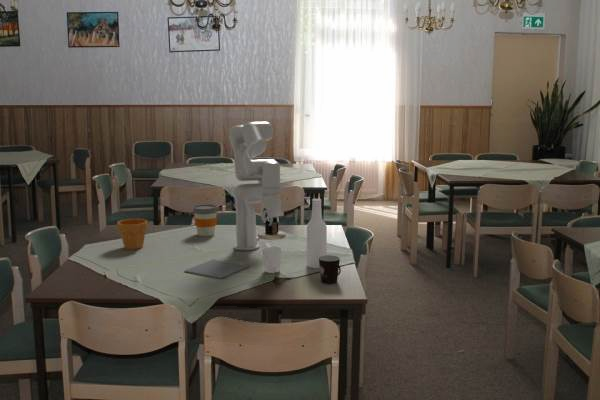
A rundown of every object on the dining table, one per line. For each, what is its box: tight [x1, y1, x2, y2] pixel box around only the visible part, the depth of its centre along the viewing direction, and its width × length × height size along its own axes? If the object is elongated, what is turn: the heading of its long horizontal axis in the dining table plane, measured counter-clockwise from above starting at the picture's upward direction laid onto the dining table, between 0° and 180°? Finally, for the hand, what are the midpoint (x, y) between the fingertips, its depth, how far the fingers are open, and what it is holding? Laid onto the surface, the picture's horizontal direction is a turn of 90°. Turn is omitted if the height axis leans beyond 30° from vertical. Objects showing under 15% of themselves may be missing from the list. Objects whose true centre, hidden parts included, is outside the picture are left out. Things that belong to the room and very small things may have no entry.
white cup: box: [262, 245, 282, 274], centre depth 267 cm, size 8×8×10 cm
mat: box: [183, 259, 250, 280], centre depth 271 cm, size 20×20×1 cm
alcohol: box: [306, 198, 328, 270], centre depth 272 cm, size 9×9×30 cm
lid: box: [257, 222, 287, 241], centre depth 265 cm, size 12×12×6 cm
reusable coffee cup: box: [192, 204, 218, 237], centre depth 332 cm, size 13×13×15 cm
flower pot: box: [116, 218, 148, 250], centre depth 307 cm, size 14×14×13 cm
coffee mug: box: [319, 254, 342, 285], centre depth 251 cm, size 12×9×10 cm
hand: (271, 232), depth 265 cm, fingers closed on lid, 4 cm apart
